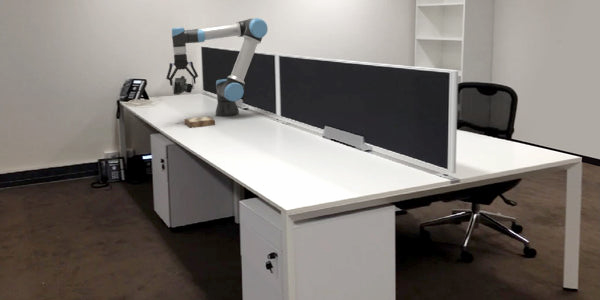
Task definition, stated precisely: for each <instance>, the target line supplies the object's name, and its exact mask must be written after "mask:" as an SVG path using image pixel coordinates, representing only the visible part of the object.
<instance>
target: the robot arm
mask: <svg viewBox="0 0 600 300" xmlns="http://www.w3.org/2000/svg"><path fill="white" fill-rule="evenodd" d="M268 30H269V29H268V25H267V22H266V21H265V20H263V19H262V18H260V17H256V18H248V19H244V20H241V21H240V20H239V21H235V23H230V24H224V25H215V26H208V27H202V28H200V27H199V28H195V29H194V28H193V29H185V28H184V27H173V28H171V39H172V47H173V49H172V52H173V60H174V62H173V63H172V62H170V63H168V65H169V67H168V71H167V75H166V78H165V79H166V80H169V85H170V87H171V90H172V92H174V83H175V81H174V80H173V78H174V77H175V76H176V73H177V72H178V71H180V70H186V72H188V74H189V76H191V77H192V78H191V85H192V90H195V84H196V82H197V80H196V78H198V77H199V75H198V72H197V71H196V68H195V67H194V63H193V61H188V56H187V45H186V44H197V43H199V44H200V43H204V42H205V41H208V40H215V39H223V38H229V37H230V38H231V37H238V38H241V37H243V42H242V45H241V48H240V50H239V53H238V55H237V58H236V61H235V63H234V65H233V68H232V71H231V74H230V75H228V76H227V77H226V78H225V79H217V80H216V82H215V88H216V98H217V99H216V100H217V101H216V102H217V104H216V108H215V116H218V117H230V116H231V117H232V116H236V115H239V114H240V110H239V107H238V105H237V102H238V101H240V100H241V99H242V98H243V95H244V93H245V92H244V91H245V89H244V88H245V87H244V86H245V84H246V83H245V81H244V80H245V77H246V75H247V72H248V69H249V67H250V64H251V62H252V60H253V57H254V53H255V52H256V50H257V46H258V45H259V44H261V42H262V40H263V38H264V37H265V36H266V34H267V33H268ZM188 65H189V66H190V67H191V70H190V69H189V67H188ZM174 66H175V68H174V70H173V69H172V68H173V67H174ZM172 70H173V71H172ZM236 101H237V102H236Z"/></svg>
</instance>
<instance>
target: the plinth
mask: <svg viewBox="0 0 600 300" xmlns="http://www.w3.org/2000/svg"><path fill="white" fill-rule="evenodd" d="M183 123H184V125H185V126H187V127H188V128H189V129H190V128H191V129H193V128H199V127H201V128H202V127H209V126H215V125H216V119H214V118H212V117H210V116H200V117H199V116H198V117H190V118H185V119H184V121H183ZM192 127H193V128H192Z"/></svg>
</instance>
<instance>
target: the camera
mask: <svg viewBox="0 0 600 300" xmlns="http://www.w3.org/2000/svg"><path fill="white" fill-rule="evenodd" d="M172 92H173V93H172V94H173V95H175V96H176V95H177V96H179V95H181V94H183V93H189V94H190V93H192V92H193V89H192V83H187V78H185V76H184V75H181V77H176V78H174V91H172Z"/></svg>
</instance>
